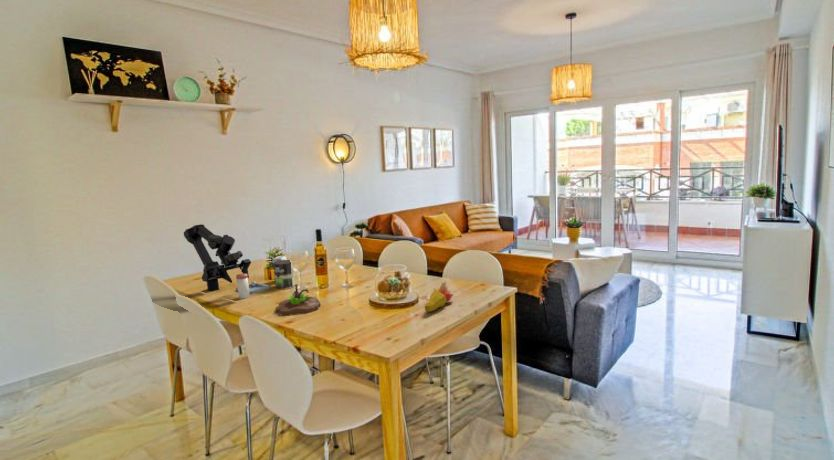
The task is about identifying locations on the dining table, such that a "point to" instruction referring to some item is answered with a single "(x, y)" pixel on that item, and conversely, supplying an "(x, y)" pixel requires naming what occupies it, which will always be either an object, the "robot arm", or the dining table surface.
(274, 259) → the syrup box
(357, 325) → the dining table surface
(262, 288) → the tray
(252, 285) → the steel ball
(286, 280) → the coffee can
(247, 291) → the shaker
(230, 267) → the robot arm
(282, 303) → the plant
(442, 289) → the flower bouquet
